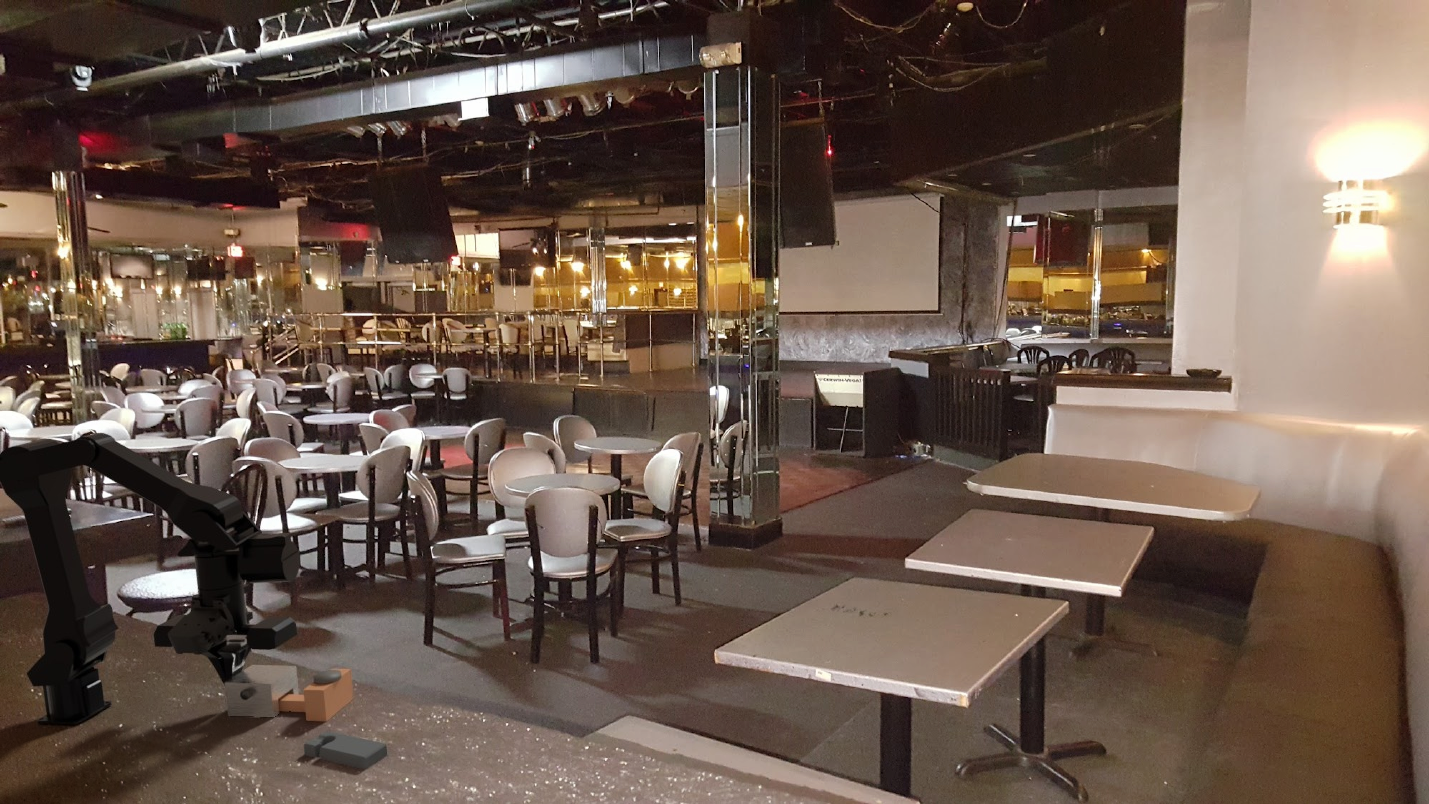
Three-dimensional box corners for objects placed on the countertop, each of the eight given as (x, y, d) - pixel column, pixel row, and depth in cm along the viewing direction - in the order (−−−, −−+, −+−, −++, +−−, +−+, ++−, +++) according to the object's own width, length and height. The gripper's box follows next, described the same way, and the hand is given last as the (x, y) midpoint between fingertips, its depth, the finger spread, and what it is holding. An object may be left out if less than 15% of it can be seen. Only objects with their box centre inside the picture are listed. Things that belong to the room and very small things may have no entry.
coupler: (240, 718, 127) (236, 683, 126) (271, 696, 134) (268, 663, 133) (328, 721, 125) (325, 686, 124) (355, 698, 132) (352, 665, 131)
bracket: (365, 773, 112) (364, 757, 111) (303, 758, 116) (302, 743, 116) (388, 758, 115) (387, 743, 115) (328, 744, 119) (326, 729, 119)
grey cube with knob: (224, 719, 127) (220, 685, 126) (255, 697, 133) (251, 664, 133) (270, 720, 126) (267, 686, 125) (299, 698, 132) (296, 666, 132)
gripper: (116, 602, 122) (129, 712, 124) (244, 604, 119) (255, 717, 121) (176, 576, 133) (187, 677, 135) (294, 577, 130) (303, 681, 132)
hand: (231, 688), depth 130 cm, fingers closed
